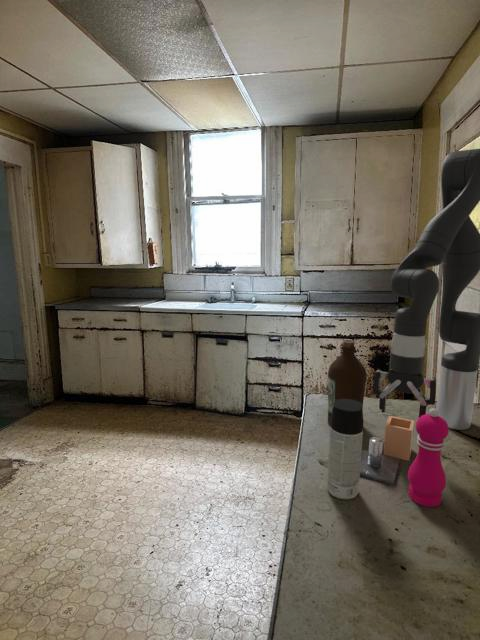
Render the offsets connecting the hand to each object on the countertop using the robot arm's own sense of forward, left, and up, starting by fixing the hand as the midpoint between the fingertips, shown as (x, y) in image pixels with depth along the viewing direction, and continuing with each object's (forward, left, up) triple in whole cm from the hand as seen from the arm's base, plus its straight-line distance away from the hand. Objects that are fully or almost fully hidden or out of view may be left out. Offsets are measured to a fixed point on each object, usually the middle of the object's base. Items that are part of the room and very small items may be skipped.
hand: (401, 414), depth 98 cm
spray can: (+22, -8, -11) cm, 26 cm away
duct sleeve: (0, 0, -10) cm, 10 cm away
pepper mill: (+16, +7, -11) cm, 21 cm away
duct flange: (+10, -4, -10) cm, 15 cm away
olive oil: (-9, -16, -11) cm, 21 cm away
